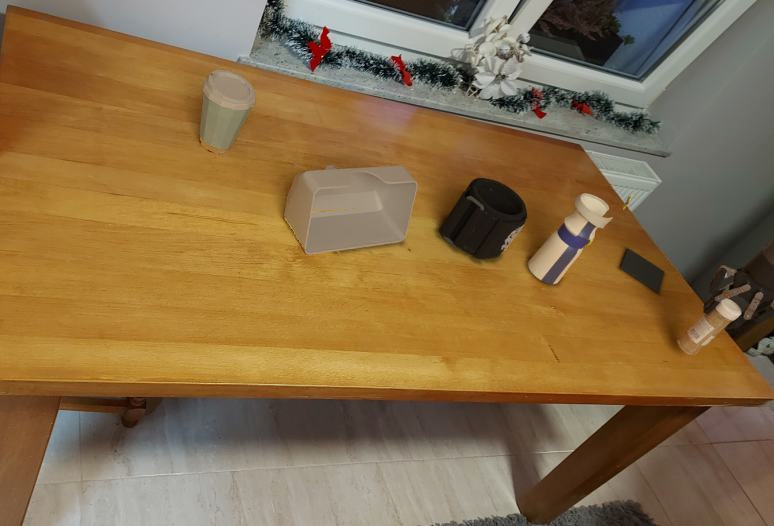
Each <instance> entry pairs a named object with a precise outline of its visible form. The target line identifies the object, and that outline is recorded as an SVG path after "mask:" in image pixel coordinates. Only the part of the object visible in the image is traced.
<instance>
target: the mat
mask: <svg viewBox="0 0 774 526" xmlns="http://www.w3.org/2000/svg"><path fill="white" fill-rule="evenodd" d="M619 268H620V269H621V270H622V271H623V272H625V273H627V274H628V275H630V276H632V277H633V278H635V279H636V280H637V281H639V282H641V283H642V284H643V285H645V286H647V287H648V288H650V289H651V290H652V291H655V292H656V293H659V291H660V289H661V285H662V282H663V277H664V275H665V270H663V269H661V268H660V267H659V266H657V265H655V264H654V263H652V262H651V261H649V260H648V259H646V258H644V256H641V255H640V254H639V253H637V252H635V251H634V250H632V249H630V248H628V247H627V249H626V250H625V254H624V256H623V258H622V262H621V265H620V266H619Z"/></svg>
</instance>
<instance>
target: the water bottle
mask: <svg viewBox="0 0 774 526" xmlns="http://www.w3.org/2000/svg"><path fill="white" fill-rule="evenodd" d="M632 198H633V194H631V195H630V196H629V195H628V197H627V198H626V200H625V202H624V203H623V204H622V206H623V207H622V211H624V210H625V208H626V207H627V206H628V205H630V201H631V200H632ZM573 202H574V206H575V208H574V209H575V210H574V211H573V212H572V213H571V214H570V215H567V216H565V217H564V219H563V223H562V224H561V225H560V227H559V228H558V229H556V230H554V231H553V232H552V233H551V234H550V235H549V237H548V238H547V239H546V240H545V242H544V243H543V244H542V245H541V246H540V248H539V249H538V250H537V251H536V252H535V253H534V254H533V255H532V256H531V258H530V259H529V260H528V262H527V265H528V266H527V267H528V269H529V271H530V272H531V273H532V274H533V276H534V277H536V278H537V279H538V280H540V281H542V282H543V283H546V284H549V285H556V284H558V283H559V282H560V280H561V279H562V278H563V276H564V275H565V274H566V272H567V271H568V270H569V268H571V266H572V265H573V264H574V263H575V262H576V260H577V259H578V258H579V256H580V255H581V254H582V252H583V250H584V248H585V247H586V248H587V247H590V245H591V244H592V243H593V241H594V239H595V237H596V231H597V230H598V229H599V228H600V229H604V228H605V227H606V226H607V224H609V222H611V221H612V220H613V219H614V217H604V215H606V213H607V212H608V211H609V210H610V206H609V204H608V203H607V202H606V201H605V200H603V198H600V197H598V196H596V195H594V194H591V193H581V194H579V195H577V196H576V197H575V198H574V199H573Z"/></svg>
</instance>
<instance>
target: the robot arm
mask: <svg viewBox="0 0 774 526" xmlns="http://www.w3.org/2000/svg"><path fill="white" fill-rule="evenodd" d="M731 276H733V281H732V282H730V283H728V284H726V285H725V286H724V287H722V288H719V287H720V285H721V284H722V283H723V282H722V281H723V280H726V279H728V278H730V277H731ZM708 287H709V288H708V293H709V294H710V295H711V297H710V298H708V300H706V301H705V302H704V303H703V307H702V309H703V311H702V312H703V314H704V315H705V314H708V313H709V312H710V311H711V310H713V309H714V308H715V307H716V306H717V305H718V304H719V302H720V301H722V300H724V299H726V298H727V299H730V298H731V299H732V298H733V297H735V296H737V297H739V298H741V299H743V300H744V301H745V302H746V305H745V308H744V310H743V311H742V310H741V312H742V313H741V315H740V316H739V317H738V318H737V319H736V320H733V321H731V322H730V323H729V324H728V325H727V326H726V329H728V330H730V331H731V330H736V329H738V328H739V327H741V326H742V325H743V324H744V323H745V322H747V321H754V322H755V324H761V323H763V322H765V321H767V320H770V319H772V318H774V238H773V239H772V240H770V241H768V242H767V243H766V244H765V245H764V247H763V248H762V249H761V250H760V251H758V253H756V254H755V255H754V256H753V257H752V258H751V259H750V260H749V261H748V262H747V263H745V265H743V266H741V267H739V268H737V269H734V268H731V267H729V266H728V265H727V264H726V263H720V265H719V267H718V269H717V271H715V274H714V275H713V278H712V280H711V282H710V284H709V286H708ZM766 302H770V305H768V306H765V307H764V308H762V309H759V310H757V308H758V306H759V304H760V303H766ZM756 310H757V311H756Z"/></svg>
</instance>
